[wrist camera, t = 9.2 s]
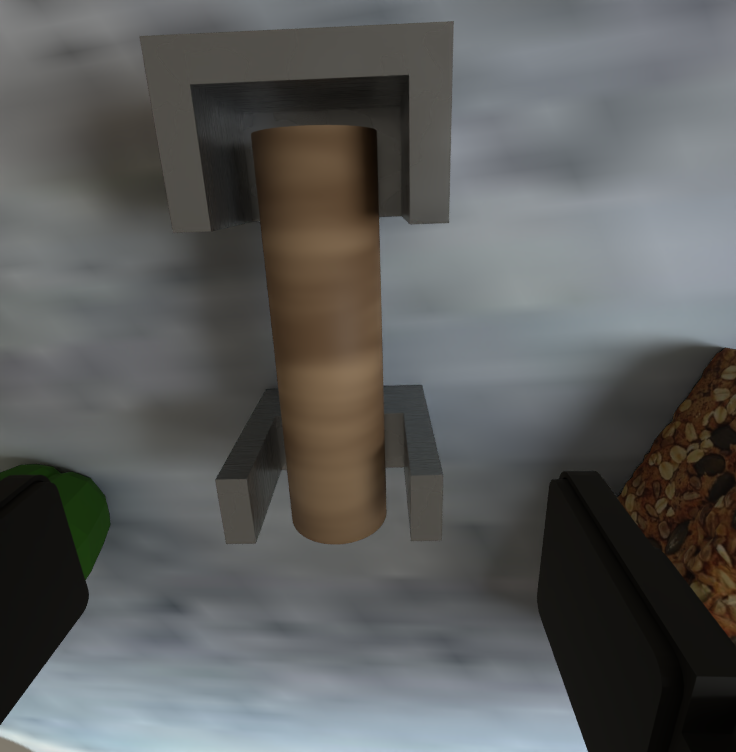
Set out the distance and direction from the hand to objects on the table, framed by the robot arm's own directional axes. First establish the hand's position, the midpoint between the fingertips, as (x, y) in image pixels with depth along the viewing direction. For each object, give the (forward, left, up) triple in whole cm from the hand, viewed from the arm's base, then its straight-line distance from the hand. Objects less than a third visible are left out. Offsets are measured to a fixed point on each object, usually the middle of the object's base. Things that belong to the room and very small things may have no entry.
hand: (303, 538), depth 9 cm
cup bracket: (+1, -7, -17) cm, 19 cm away
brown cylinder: (+1, 0, -12) cm, 12 cm away
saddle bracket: (+1, +5, -17) cm, 18 cm away
